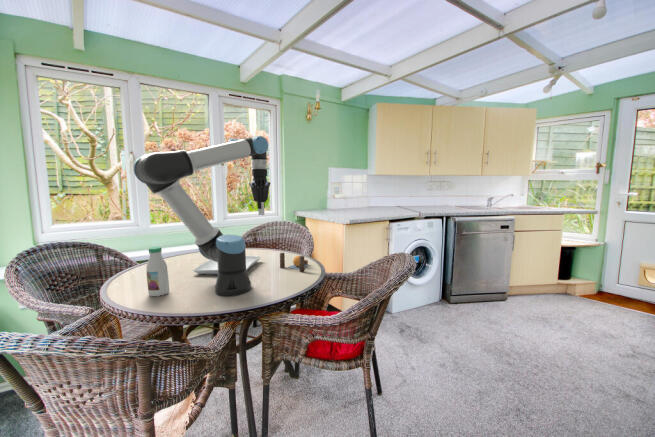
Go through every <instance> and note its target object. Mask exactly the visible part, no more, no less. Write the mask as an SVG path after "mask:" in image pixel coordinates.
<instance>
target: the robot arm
mask: <svg viewBox="0 0 655 437" xmlns="http://www.w3.org/2000/svg"><path fill="white" fill-rule="evenodd" d="M268 150H269V141H268V140H267V138H266V137H264V136H263V135H262V136H261V135H255V136H251V137H247V138H240V139H239V138H230V139H229V140H228V141H227V142H226V143H221V144H217V145H211V146H207V147H202V148H199V149H194V150H189V151H187V150H184V149H181V150H175V151H157V152H152V153H145V154H143V155H141V156H140V157H138V158H137V159H136V160H135V162H134V164H133V174H134V175H135V177H136V178H137V180H139V181H140V182H141V183H143V184H144V185H146V187H147V188H149V190H150V191H151V193H152V194H154V195H159V196H160V197H161V198H162V200H163V201H165V202H166V204H167V205H168V206H169V208H170V209H171V210H172V212H174V214H175V215H176V216H177V217H178V218H179V220H180V221H181V222H182V224H183V225H184V226H185V228H187V230H188V231H189V232H190V233H191V234H192V235H193V237H194V238H195V239H194V240H195V241H194V244H195V245H196V246H197V247H198V251H199V253H200V254H201V255H202V256H203V257H204V258H205V259H207V260H213V261H215V262H218V274H217V278H216V282H215V285H214V293H215V294H217V295H218V296H221V297H233V296H239V295H243V294H245V293H248V292H250V290H251V289H252V282H251V279H250V277H249V274H248V272H247V271H248V270H247V271H246V256H247V254H246V249H247V248H246V242H245V239H244V237H243V236H240V235H237V234H223V233H222V232H221V230H220V229H219V227H216V226H213V225H212V224H211V223H210V222H209V220H208V219H207V217H206V216H205V215H204V213H203V212H202V211H201V209H200V208H199V207H198V206H197V204H196V203H195V201H194V200H193V199H192V198H191V196H190V195H189V194H188V193H187V191H186V190H185V189H184V187H183V186H182V185H181V184H180V180H181V179H183V178H187V177H190V176H192V175H194V173H195V172H197V171H201V170H204V169H208V168H212V167H215V166H219V165H222V164H225V163H230V162H234V161H236V160H240V159H244V158H247V157H251V158H250V159H251V168H252V169H251V175H252V181H251V182H249V187H250V188H251V194H252V198H253V202H255V203H257V204H256V205H257V211H258V216H265V207H266V206H265V204H266V203H267V201H268V200H269V193H270V192H269V191H270V186H271V182H270V181H268V179H267V176H268V169H267V168H268V159H267V158H268V157H267V156H268V152H267V151H268Z"/></svg>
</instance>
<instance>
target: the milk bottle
mask: <svg viewBox="0 0 655 437" xmlns="http://www.w3.org/2000/svg"><path fill="white" fill-rule="evenodd" d="M162 249H163V248H162V246H152V247H149V248H148V254H149V258H148V262H147V264H146V268H145V270H146V282H147V283H146V284H147V292H148V296H149V295H150V296H149V297H152V296H157V297H161V296H160V295H162V296H165V295H167V294H169V293H170V281H169V271H168V265H167V262H166V260H165V259H164V257H163V256H162ZM168 292H169V293H168ZM164 294H165V295H164Z"/></svg>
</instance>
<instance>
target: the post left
mask: <svg viewBox="0 0 655 437" xmlns="http://www.w3.org/2000/svg"><path fill="white" fill-rule="evenodd" d="M285 254H286V253H285V252H279V268H280V269H285V268H286V261H285V260H286V259H285Z"/></svg>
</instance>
